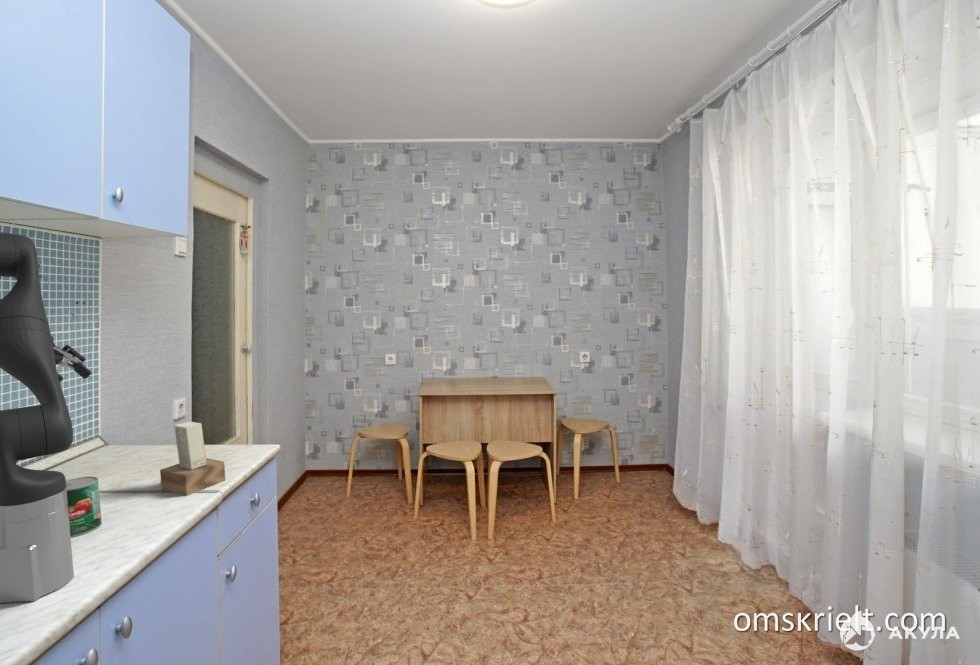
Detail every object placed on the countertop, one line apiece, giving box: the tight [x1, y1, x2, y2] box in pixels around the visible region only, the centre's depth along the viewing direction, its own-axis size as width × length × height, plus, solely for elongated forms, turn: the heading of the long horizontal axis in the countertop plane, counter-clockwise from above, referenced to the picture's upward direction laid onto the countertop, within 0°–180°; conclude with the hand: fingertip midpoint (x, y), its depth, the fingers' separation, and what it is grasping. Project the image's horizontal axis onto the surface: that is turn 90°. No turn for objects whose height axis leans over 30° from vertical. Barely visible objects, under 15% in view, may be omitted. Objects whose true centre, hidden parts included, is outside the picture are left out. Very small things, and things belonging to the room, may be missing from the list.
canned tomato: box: [66, 476, 103, 538], centre depth 104 cm, size 8×8×11 cm
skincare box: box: [174, 421, 207, 470], centre depth 128 cm, size 6×4×12 cm
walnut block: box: [159, 457, 226, 497], centre depth 129 cm, size 11×11×6 cm
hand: (74, 378), depth 115 cm, fingers open, 8 cm apart
